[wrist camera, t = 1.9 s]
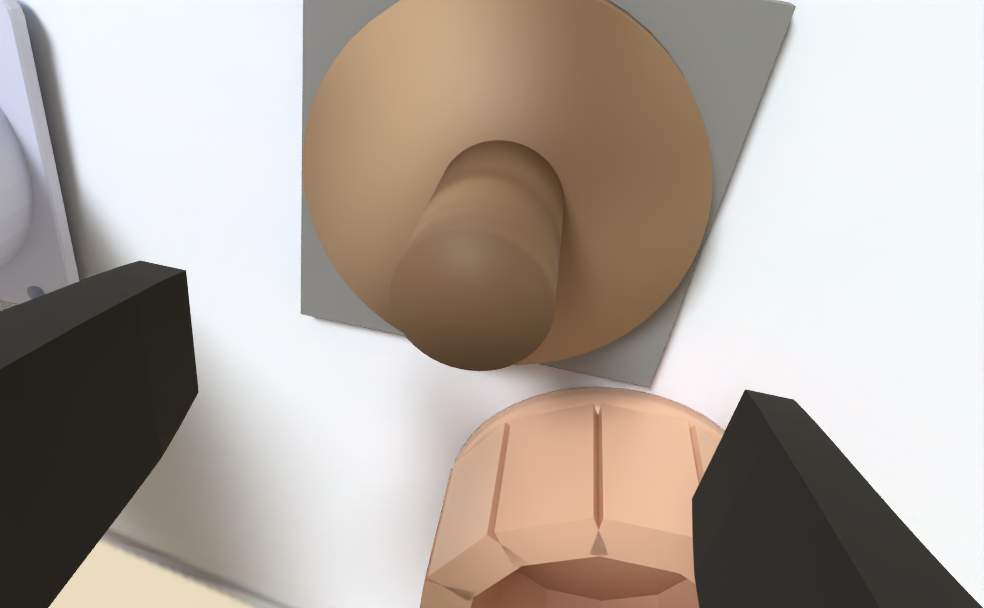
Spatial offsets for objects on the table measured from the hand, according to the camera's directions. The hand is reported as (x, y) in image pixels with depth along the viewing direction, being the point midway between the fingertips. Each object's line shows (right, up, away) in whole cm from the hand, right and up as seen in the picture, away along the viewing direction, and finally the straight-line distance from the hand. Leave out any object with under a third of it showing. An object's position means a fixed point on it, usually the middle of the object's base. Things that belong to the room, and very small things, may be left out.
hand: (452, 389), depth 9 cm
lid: (+1, +4, +6) cm, 7 cm away
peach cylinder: (+4, -5, +11) cm, 13 cm away
